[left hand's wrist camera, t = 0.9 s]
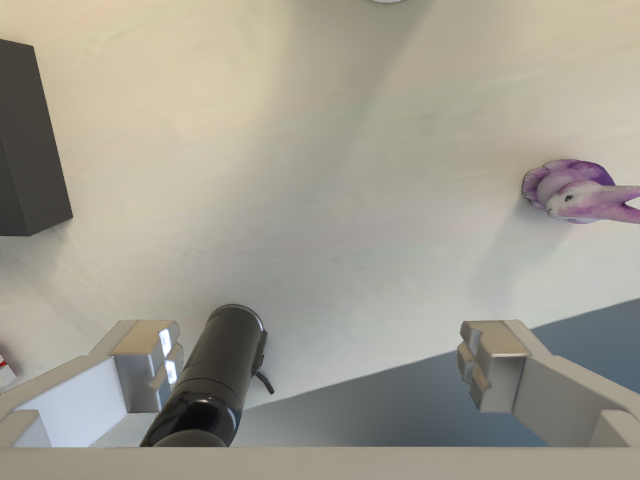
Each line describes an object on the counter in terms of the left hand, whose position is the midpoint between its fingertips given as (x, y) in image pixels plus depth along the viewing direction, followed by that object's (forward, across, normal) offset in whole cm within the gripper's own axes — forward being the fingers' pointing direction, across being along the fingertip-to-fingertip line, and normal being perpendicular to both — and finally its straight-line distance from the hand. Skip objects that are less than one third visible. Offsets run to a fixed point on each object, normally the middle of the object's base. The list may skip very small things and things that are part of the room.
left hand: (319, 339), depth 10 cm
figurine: (+43, -34, +5) cm, 55 cm away
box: (+43, +40, -2) cm, 59 cm away
